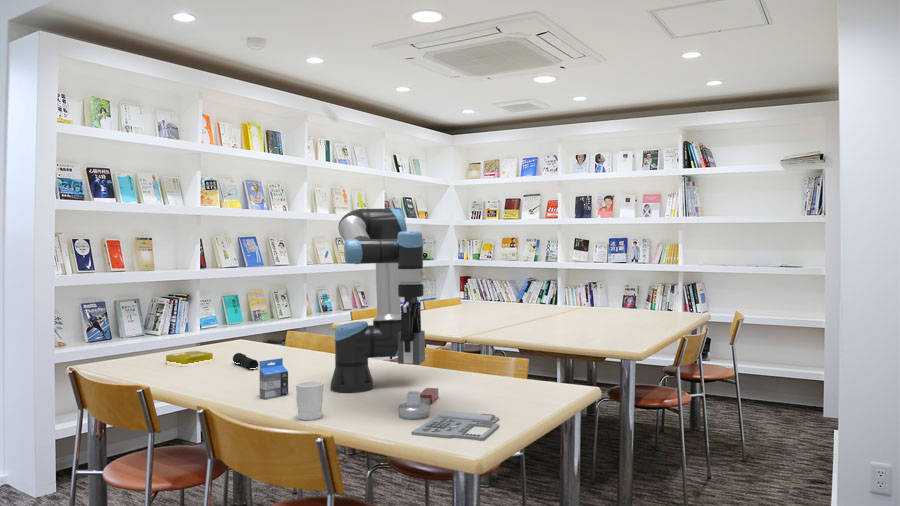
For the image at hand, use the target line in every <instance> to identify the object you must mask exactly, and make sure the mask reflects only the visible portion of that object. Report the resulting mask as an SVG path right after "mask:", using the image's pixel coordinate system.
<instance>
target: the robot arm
mask: <svg viewBox="0 0 900 506" xmlns="http://www.w3.org/2000/svg"><path fill="white" fill-rule="evenodd" d="M406 222H407V221H406V218H405V214H404V213H403V211H402V210H401V209H398V208H397V209H396V208H390V207H389V208H357V209H354V210H352V211H349V212H347V213H346V214H345V215H343V216H342V217H341V219H340V220H339V222H338V225H337V226H338V229H337V230H338V233H339V235H340V237H341V238H342V239H343V240H344V244H343V259H344V261H345V263H346V264H349V265H351V264H352V265H363V264H368V265H369V264H375V286H376V316H375V318H373V320H372V324H370V325H369V323H368V321H365V320H364V321H354V322H347V323H344V324H340V325H338V326H337V327H336V328H335V330H334V345H335V346H334V349H335V351H334V356H335V357H334V370H333V373H332V376H331V381H330V390H331V391H332V392H337V393H360V392H366V391H369V390H372V389H374V379H373V376H372V373H371V371H370V368H369V359H371V358H373V359H374V358H395V357H398V333H399V332H401V339H400V341H403V351H404V363H408V364H407V365H414V364H413V341H412V330H416V331H422V318H421V312H422V311H421V307H422V303H421V301H419V300H418V298H420V297H421V298H422V297H423V296H424V295H425V294H424V293H425V292H424V284H423V282H424V276H425V275H426V272H425V271H424V254H423V253H424V241H423V240H424V239H423V233H422V232H421V231H419V230H418V231H416V230H415V231H413V230H412V231H408V230H407V229H408V227H407V223H406ZM401 298H404V300H403V301H404V302H403V304H402V305H401Z"/></svg>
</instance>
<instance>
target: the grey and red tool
mask: <svg viewBox="0 0 900 506" xmlns="http://www.w3.org/2000/svg"><path fill="white" fill-rule="evenodd" d="M437 399H439V388H438V387H425V388H424V389H423V390H422V391H412V390H409V391H408V392H407V393H406V403H401V404H399V405H398V418H399V419H401V420H406V421H420V420H425V419H427V418H429V417H430V406H432V405H433V404H434V403H435V401H437Z"/></svg>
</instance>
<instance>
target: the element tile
mask: <svg viewBox="0 0 900 506" xmlns="http://www.w3.org/2000/svg"><path fill="white" fill-rule="evenodd" d="M213 355H214V354H213V352H205V351H199V350H198V351H197V350H191V351H185V352H183V351H182V352H175V353H171V354H166V355H165V362H166V361H169V362H176V363H181V364H188V363H194V362H199V361H204V360H210V359H213V357H214V356H213ZM213 360H214V359H213Z"/></svg>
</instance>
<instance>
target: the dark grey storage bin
mask: <svg viewBox="0 0 900 506" xmlns="http://www.w3.org/2000/svg"><path fill="white" fill-rule="evenodd" d="M425 332H426V331H425V330H421V331H416V330H412V341H413V364H412V365H420V364H423V363H424V362H425V361H426V350H425V349H426V343H425V341H426V339H425V338H426V337H425ZM400 339H401V332H399V333H398V356H397V361H398V362H397V364H398V365H409V364H408V363H404V351H403V341H400Z"/></svg>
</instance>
